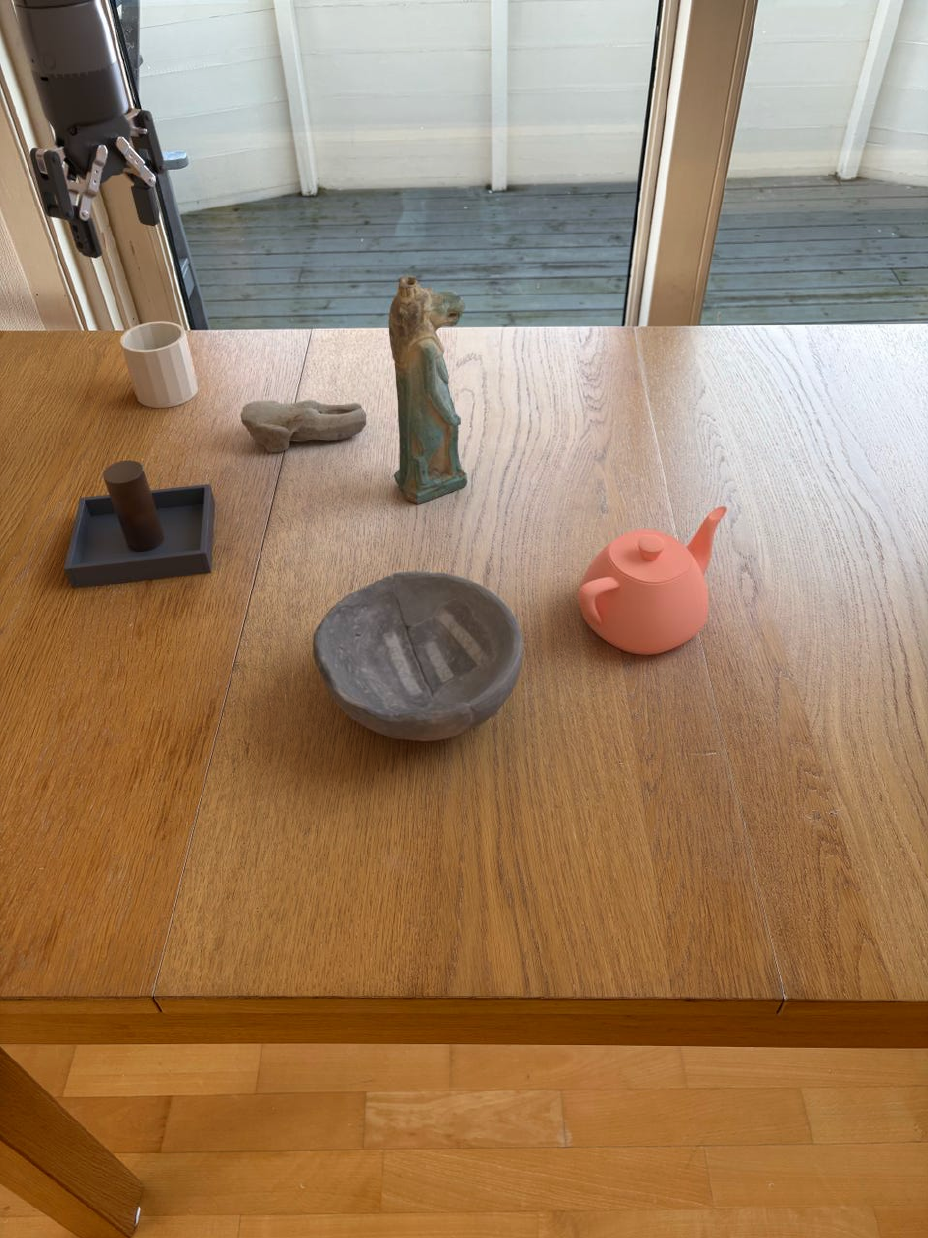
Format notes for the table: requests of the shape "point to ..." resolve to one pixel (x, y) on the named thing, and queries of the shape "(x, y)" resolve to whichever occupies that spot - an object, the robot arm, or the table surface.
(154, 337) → the cup
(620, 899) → the table surface
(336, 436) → the sculpture
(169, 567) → the tray
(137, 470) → the walnut peg
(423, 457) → the statue
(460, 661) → the bowl
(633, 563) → the teapot
